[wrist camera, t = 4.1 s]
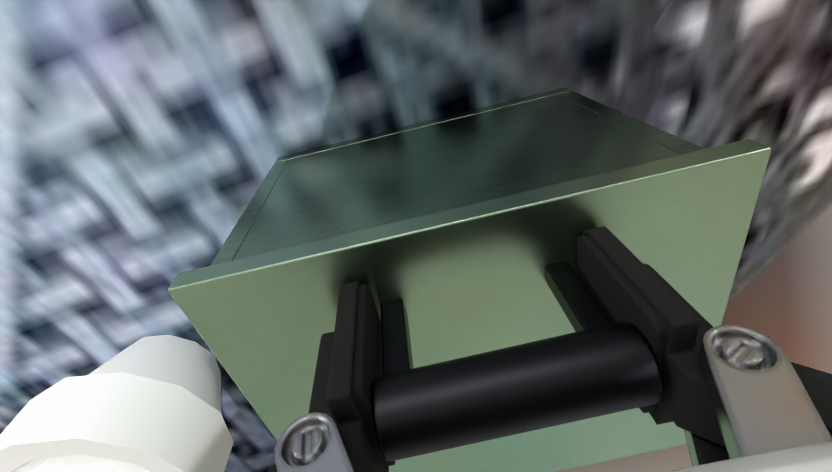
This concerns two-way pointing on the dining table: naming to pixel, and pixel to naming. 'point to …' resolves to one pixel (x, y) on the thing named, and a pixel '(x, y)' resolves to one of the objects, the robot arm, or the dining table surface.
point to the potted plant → (126, 416)
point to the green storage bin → (442, 168)
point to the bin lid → (491, 315)
